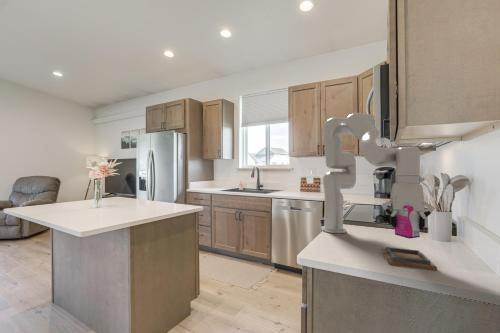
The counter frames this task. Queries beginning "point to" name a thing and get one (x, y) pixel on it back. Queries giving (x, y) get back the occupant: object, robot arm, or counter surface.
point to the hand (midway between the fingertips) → (407, 227)
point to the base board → (407, 258)
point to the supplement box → (407, 223)
